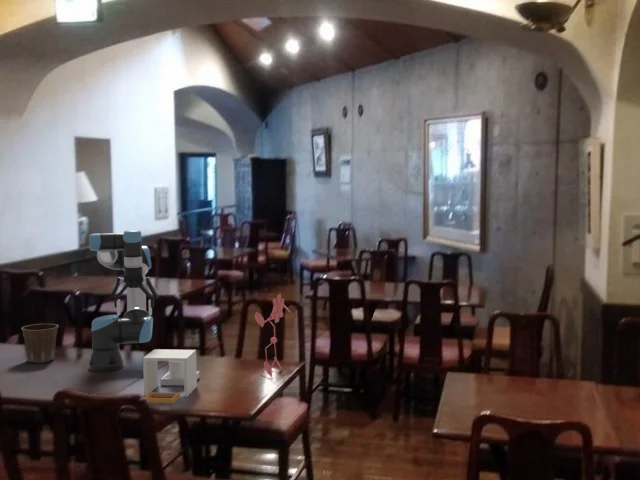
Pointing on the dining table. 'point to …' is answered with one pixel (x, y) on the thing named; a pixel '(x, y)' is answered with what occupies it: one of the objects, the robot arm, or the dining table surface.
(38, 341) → the plant pot
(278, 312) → the figurine
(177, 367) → the white cup
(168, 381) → the square frame with handle
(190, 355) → the tunnel
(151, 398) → the frame
